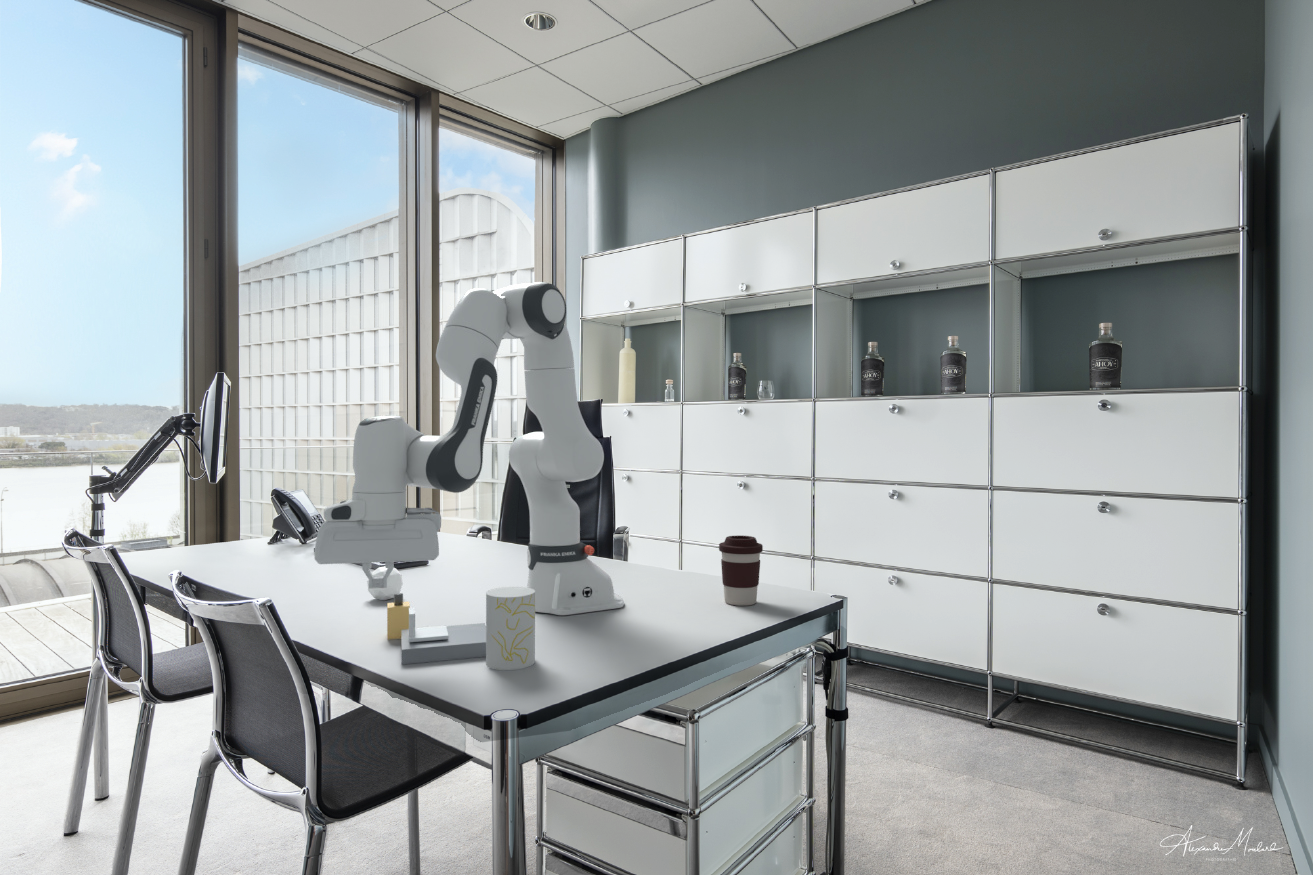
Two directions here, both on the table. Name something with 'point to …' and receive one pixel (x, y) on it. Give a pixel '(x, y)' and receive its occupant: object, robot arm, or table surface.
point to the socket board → (446, 645)
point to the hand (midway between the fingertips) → (377, 587)
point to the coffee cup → (740, 569)
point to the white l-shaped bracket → (425, 630)
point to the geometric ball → (392, 584)
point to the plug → (397, 617)
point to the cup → (510, 628)
